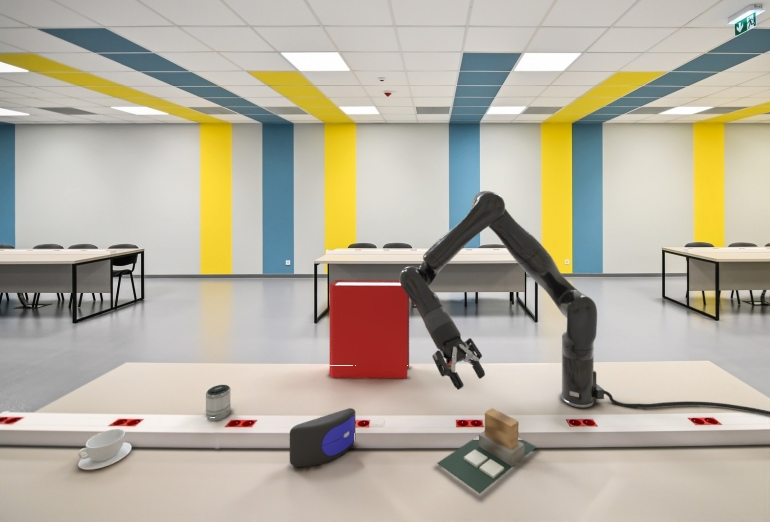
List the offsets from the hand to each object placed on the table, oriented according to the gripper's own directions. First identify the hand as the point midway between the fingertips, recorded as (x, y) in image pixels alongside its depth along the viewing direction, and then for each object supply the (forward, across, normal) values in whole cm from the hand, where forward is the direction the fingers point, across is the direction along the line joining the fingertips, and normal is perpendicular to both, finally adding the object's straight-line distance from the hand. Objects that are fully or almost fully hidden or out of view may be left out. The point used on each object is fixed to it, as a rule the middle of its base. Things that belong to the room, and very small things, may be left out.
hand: (472, 382), depth 105 cm
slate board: (+16, -3, +5) cm, 17 cm away
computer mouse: (-4, -31, +26) cm, 40 cm away
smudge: (+18, -7, +1) cm, 19 cm away
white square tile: (+15, -7, +5) cm, 17 cm away
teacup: (-30, -70, +51) cm, 91 cm away
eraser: (+16, 0, +3) cm, 17 cm away
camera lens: (-30, -45, +52) cm, 75 cm away
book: (-25, +2, +46) cm, 52 cm away
